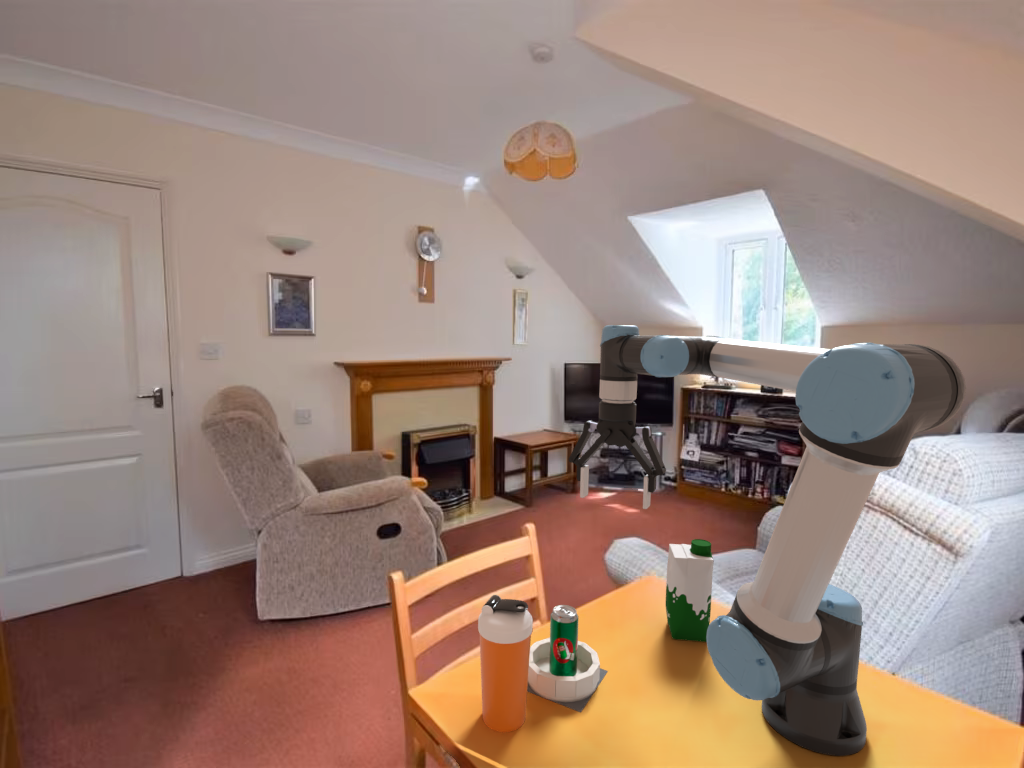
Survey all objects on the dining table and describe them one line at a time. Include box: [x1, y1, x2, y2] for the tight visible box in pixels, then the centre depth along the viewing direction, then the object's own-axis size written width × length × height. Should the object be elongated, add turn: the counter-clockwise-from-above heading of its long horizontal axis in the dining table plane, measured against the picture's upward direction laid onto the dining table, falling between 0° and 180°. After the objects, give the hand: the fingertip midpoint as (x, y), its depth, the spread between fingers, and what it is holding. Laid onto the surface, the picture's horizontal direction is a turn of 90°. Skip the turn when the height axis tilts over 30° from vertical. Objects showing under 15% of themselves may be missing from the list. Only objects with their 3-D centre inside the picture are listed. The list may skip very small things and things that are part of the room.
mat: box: [527, 667, 609, 713], centre depth 99 cm, size 13×13×1 cm
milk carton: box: [665, 538, 715, 643], centre depth 115 cm, size 9×9×20 cm
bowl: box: [528, 637, 601, 702], centre depth 99 cm, size 13×13×4 cm
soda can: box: [549, 604, 579, 676], centre depth 99 cm, size 5×5×12 cm
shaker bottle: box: [477, 594, 534, 733], centre depth 88 cm, size 9×9×20 cm
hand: (614, 501), depth 113 cm, fingers open, 13 cm apart
